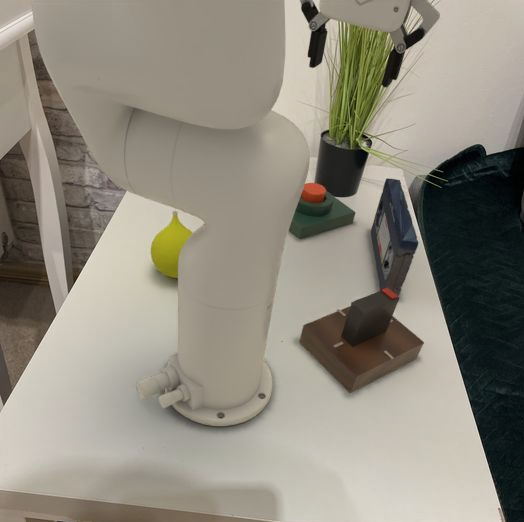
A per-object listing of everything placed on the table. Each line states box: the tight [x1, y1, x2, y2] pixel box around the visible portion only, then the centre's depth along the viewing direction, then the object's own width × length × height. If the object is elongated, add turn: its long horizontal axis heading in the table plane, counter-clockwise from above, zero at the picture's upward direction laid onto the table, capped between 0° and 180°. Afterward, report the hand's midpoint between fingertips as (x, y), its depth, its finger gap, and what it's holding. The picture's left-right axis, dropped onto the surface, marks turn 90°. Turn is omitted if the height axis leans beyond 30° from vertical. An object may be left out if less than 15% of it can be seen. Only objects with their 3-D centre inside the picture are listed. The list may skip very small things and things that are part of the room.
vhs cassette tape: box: [370, 177, 419, 297], centre depth 80 cm, size 18×3×10 cm, turn 175°
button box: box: [288, 190, 356, 240], centre depth 89 cm, size 12×10×4 cm
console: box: [299, 305, 425, 394], centre depth 67 cm, size 12×10×3 cm
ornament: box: [150, 210, 194, 279], centre depth 72 cm, size 7×7×10 cm
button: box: [301, 182, 327, 203], centre depth 88 cm, size 4×4×2 cm
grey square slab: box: [341, 288, 400, 346], centre depth 64 cm, size 6×2×6 cm, turn 125°
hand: (350, 74), depth 67 cm, fingers open, 9 cm apart
